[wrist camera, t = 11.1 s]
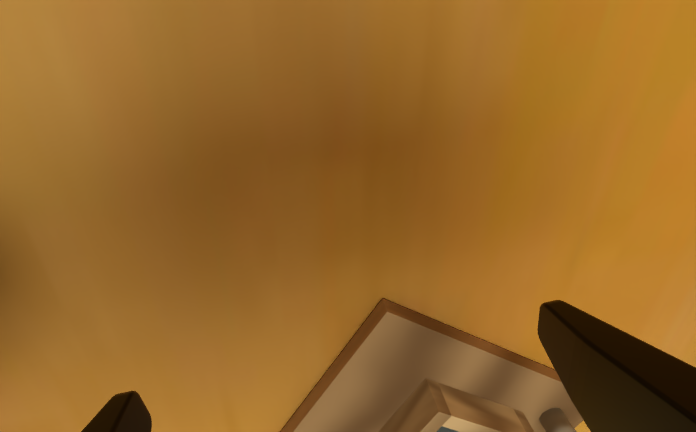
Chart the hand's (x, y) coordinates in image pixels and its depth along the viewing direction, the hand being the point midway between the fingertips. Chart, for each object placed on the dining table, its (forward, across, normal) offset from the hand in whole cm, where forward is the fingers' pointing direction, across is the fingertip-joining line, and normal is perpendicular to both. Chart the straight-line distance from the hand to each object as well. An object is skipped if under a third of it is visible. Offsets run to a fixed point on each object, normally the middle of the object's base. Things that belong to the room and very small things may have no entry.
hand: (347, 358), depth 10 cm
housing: (+13, -5, +22) cm, 26 cm away
